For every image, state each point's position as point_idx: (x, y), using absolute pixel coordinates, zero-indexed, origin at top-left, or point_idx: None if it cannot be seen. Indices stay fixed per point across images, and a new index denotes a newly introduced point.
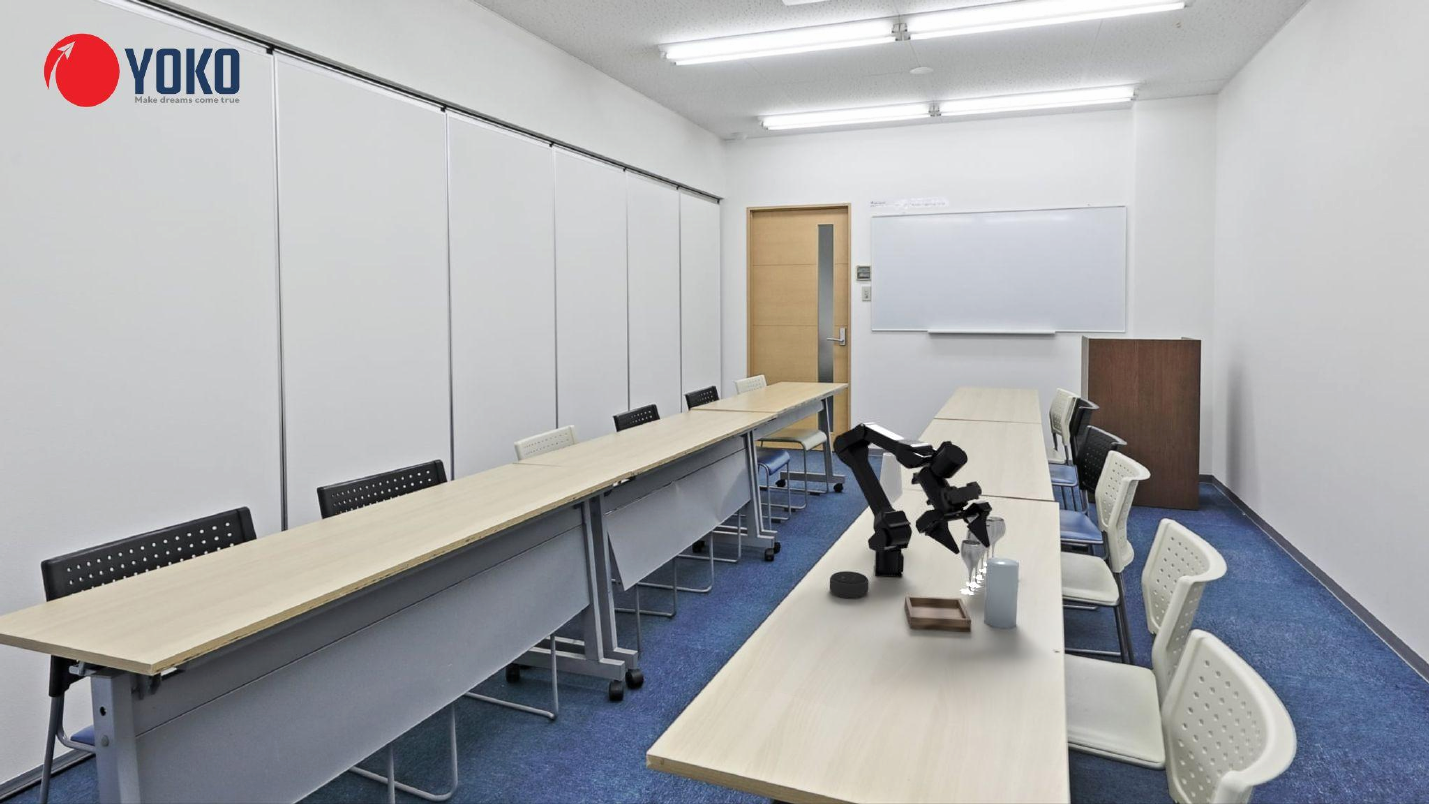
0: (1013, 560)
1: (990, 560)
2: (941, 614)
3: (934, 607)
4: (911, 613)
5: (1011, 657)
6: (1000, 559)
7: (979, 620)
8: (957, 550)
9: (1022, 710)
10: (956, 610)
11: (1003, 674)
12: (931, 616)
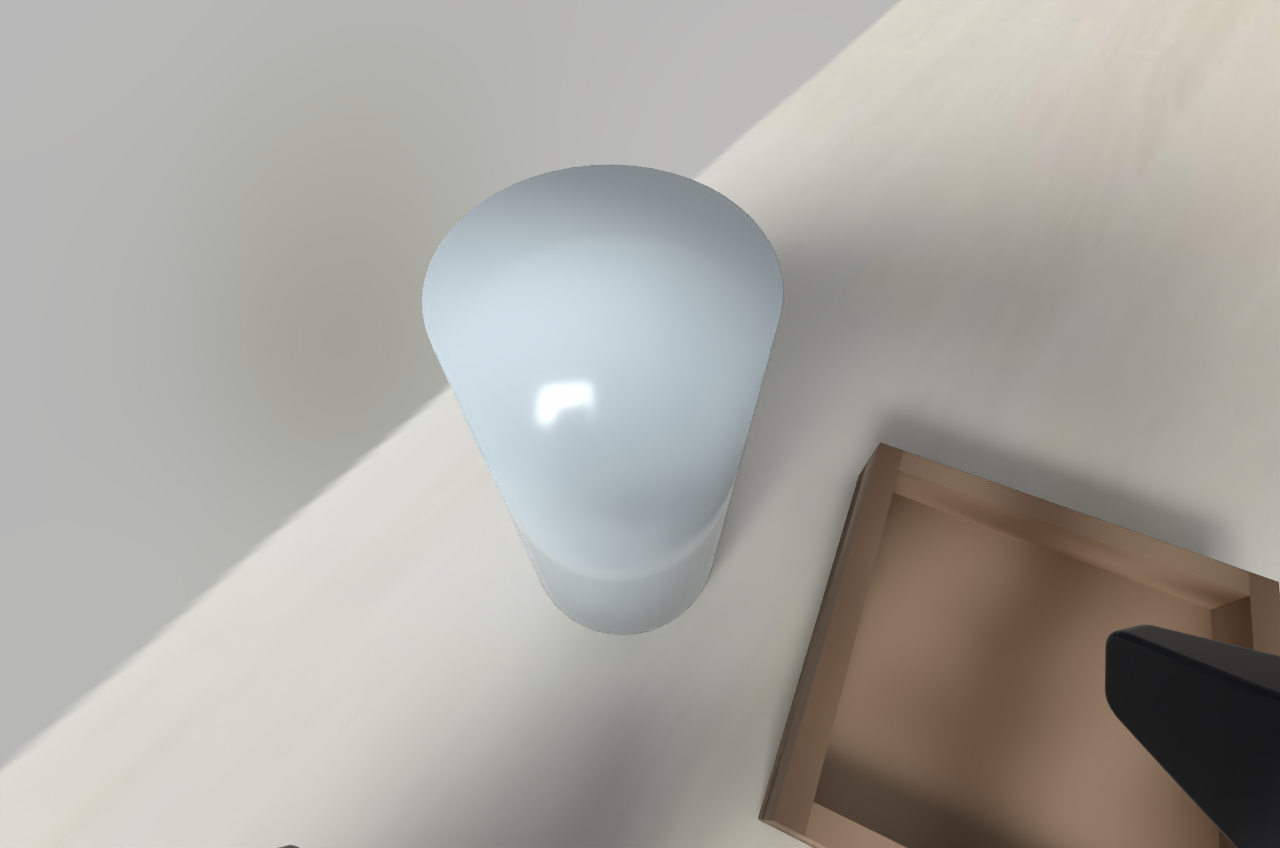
0: (431, 295)
1: (696, 359)
2: (984, 683)
3: (1001, 834)
4: (1270, 638)
5: (798, 251)
6: (550, 356)
7: (728, 598)
8: (1183, 638)
9: (933, 58)
10: (847, 719)
11: (894, 178)
12: (1069, 669)
